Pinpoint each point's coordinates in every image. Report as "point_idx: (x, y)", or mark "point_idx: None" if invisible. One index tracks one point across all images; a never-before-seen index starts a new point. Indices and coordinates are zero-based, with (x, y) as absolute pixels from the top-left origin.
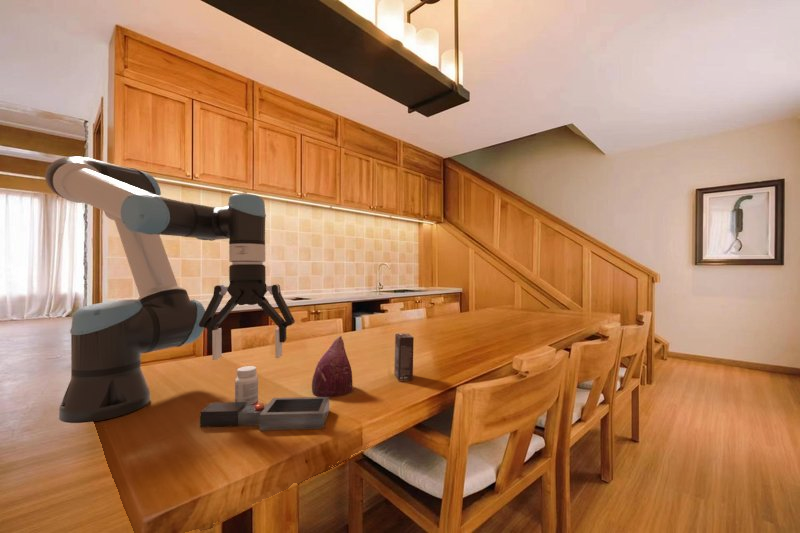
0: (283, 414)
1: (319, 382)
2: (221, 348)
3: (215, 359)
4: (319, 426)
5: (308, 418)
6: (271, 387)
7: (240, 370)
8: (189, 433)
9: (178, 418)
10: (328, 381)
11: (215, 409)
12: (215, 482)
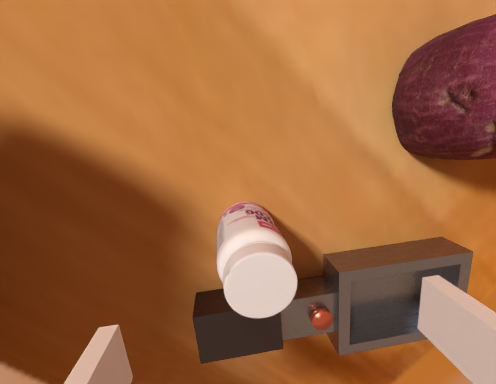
0: (385, 345)
1: (450, 152)
2: (94, 370)
3: (129, 379)
4: None
5: None
6: (255, 78)
7: (249, 314)
8: None
9: (121, 306)
10: (482, 158)
11: (229, 349)
12: None
